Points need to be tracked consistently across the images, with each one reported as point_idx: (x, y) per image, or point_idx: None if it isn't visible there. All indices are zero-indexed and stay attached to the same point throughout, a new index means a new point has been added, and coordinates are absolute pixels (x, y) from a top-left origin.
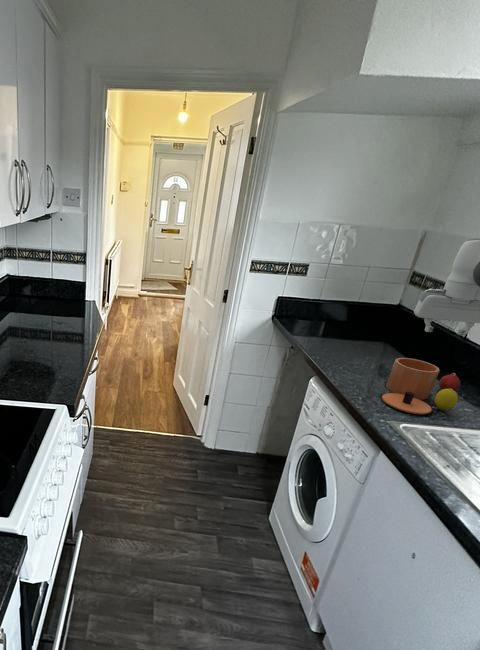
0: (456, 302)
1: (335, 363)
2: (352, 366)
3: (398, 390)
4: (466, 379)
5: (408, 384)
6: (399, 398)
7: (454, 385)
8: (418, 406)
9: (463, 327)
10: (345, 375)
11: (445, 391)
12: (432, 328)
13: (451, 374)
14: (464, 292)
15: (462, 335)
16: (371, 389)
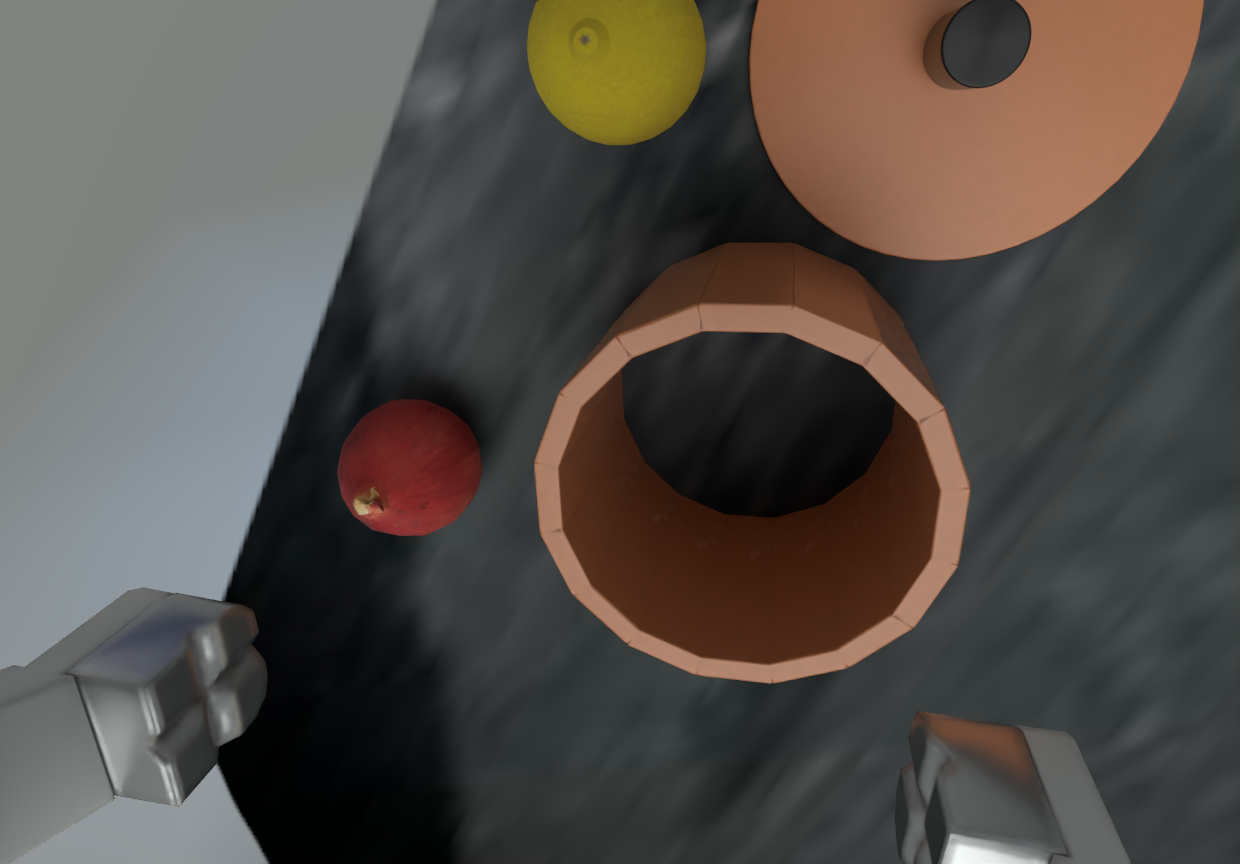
0: None
1: (1129, 805)
2: None
3: (893, 311)
4: None
5: (861, 291)
6: (980, 135)
7: (398, 412)
8: None
9: (54, 826)
10: (1212, 582)
11: (649, 19)
12: (966, 803)
13: (385, 508)
14: None
15: (190, 599)
16: (1142, 312)
